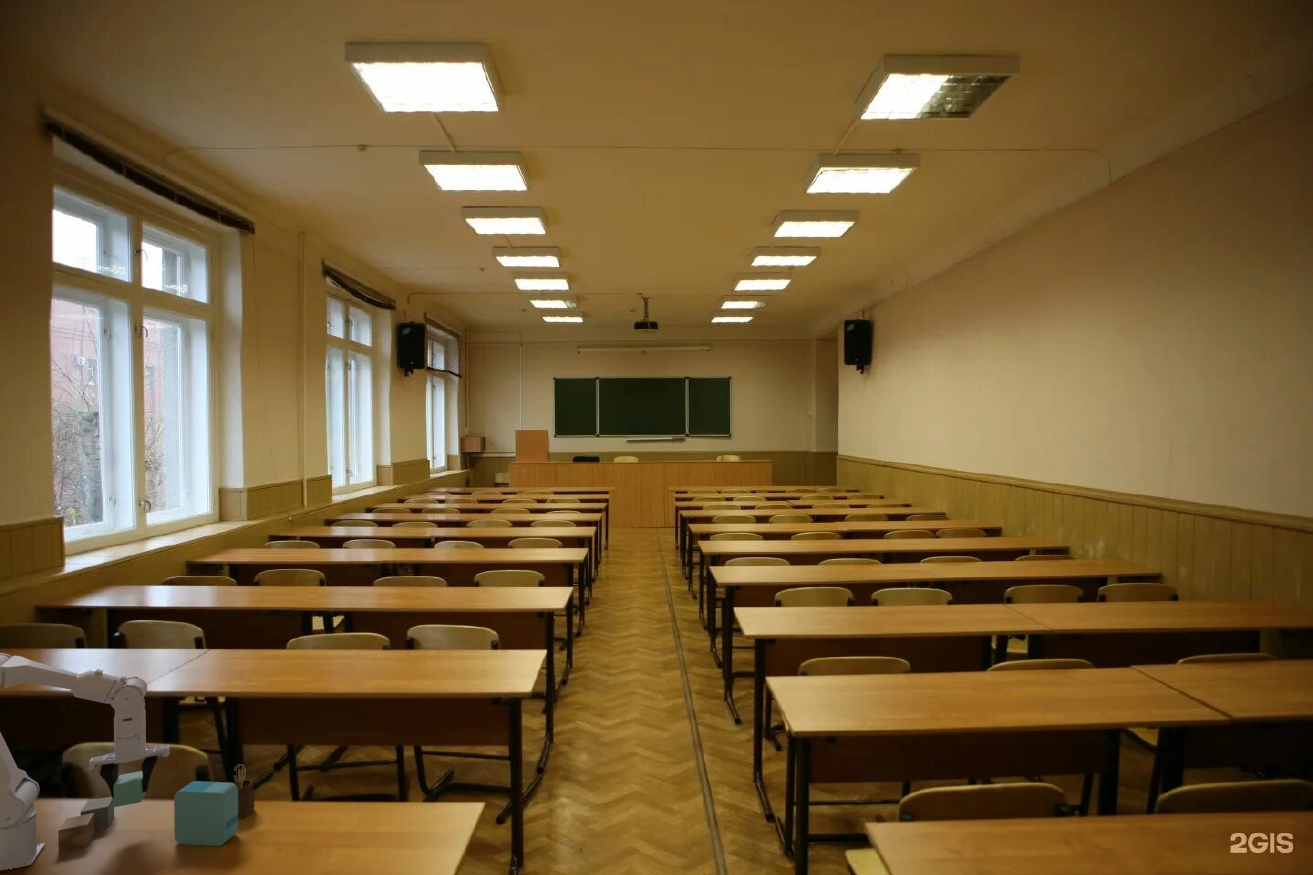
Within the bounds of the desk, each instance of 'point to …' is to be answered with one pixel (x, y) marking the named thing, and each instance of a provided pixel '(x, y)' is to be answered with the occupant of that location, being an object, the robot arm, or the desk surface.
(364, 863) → the desk surface
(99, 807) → the charcoal block
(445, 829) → the desk surface
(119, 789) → the teal block
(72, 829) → the walnut block
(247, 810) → the utensil holder
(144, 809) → the desk surface
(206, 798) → the data package
